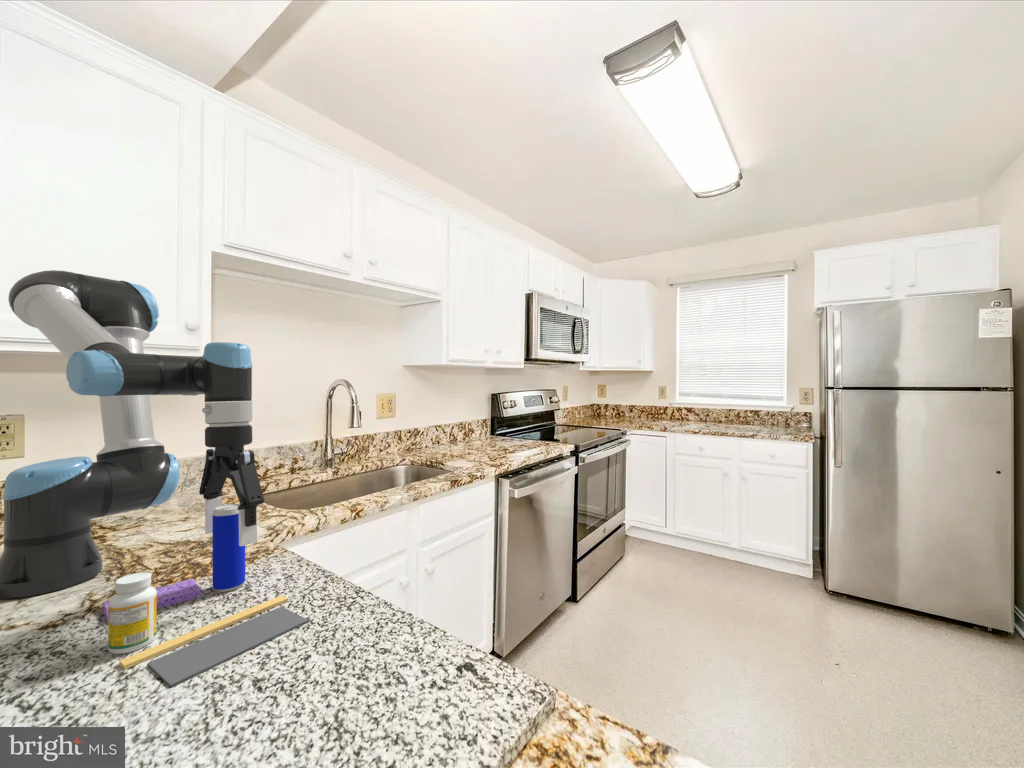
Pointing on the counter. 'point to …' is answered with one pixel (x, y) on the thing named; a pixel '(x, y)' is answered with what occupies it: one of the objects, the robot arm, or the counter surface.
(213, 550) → the beverage can
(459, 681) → the counter surface
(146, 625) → the supplement bottle
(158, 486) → the robot arm
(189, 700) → the counter surface
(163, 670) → the mat
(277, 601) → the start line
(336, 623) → the counter surface
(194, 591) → the sponges
